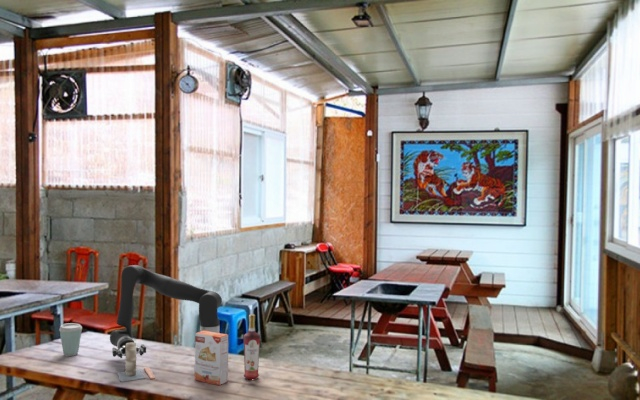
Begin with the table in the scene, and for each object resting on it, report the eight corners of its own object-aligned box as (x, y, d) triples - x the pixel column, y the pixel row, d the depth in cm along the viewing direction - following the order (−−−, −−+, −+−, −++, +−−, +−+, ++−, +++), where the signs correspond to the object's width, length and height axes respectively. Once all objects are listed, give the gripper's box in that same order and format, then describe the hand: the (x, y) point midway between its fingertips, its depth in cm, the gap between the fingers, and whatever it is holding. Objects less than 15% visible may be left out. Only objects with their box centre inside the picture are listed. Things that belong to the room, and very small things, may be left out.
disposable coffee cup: (86, 351, 273) (86, 322, 273) (74, 358, 262) (74, 327, 263) (66, 351, 274) (67, 322, 274) (54, 357, 264) (54, 326, 264)
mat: (140, 370, 244) (140, 369, 244) (144, 378, 233) (144, 377, 233) (117, 373, 239) (117, 372, 239) (120, 382, 229) (120, 380, 229)
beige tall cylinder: (135, 372, 239) (135, 341, 239) (136, 375, 235) (136, 344, 235) (124, 374, 237) (125, 343, 237) (126, 377, 233) (126, 345, 233)
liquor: (244, 381, 231) (244, 317, 231) (241, 376, 238) (242, 313, 238) (260, 380, 233) (261, 316, 233) (258, 375, 240) (258, 313, 240)
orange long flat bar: (148, 368, 248) (148, 367, 248) (155, 378, 233) (155, 377, 233) (144, 369, 247) (144, 367, 247) (150, 379, 232) (150, 378, 232)
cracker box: (193, 380, 232) (194, 332, 232) (203, 376, 237) (203, 329, 237) (219, 386, 225) (220, 336, 225) (228, 382, 230) (229, 333, 230)
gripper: (110, 339, 246) (114, 348, 232) (142, 335, 253) (148, 344, 238) (109, 355, 246) (114, 365, 232) (141, 351, 253) (148, 360, 238)
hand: (131, 354), depth 235 cm, fingers open, 8 cm apart
